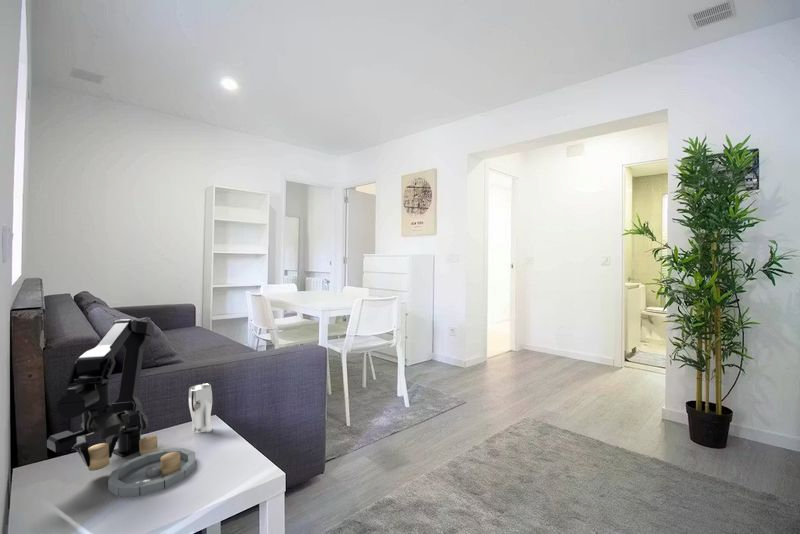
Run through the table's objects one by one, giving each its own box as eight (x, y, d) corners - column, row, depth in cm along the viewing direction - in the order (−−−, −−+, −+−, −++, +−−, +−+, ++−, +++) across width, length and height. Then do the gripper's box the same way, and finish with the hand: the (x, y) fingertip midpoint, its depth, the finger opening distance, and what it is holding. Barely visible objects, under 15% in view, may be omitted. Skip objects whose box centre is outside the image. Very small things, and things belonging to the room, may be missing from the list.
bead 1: (85, 467, 99) (84, 448, 99) (104, 460, 103) (104, 441, 103) (92, 472, 97) (91, 452, 97) (112, 464, 101) (111, 445, 101)
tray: (95, 486, 97) (94, 475, 97) (171, 452, 114) (171, 442, 114) (133, 509, 88) (133, 496, 88) (210, 468, 104) (210, 458, 104)
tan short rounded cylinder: (157, 477, 99) (157, 458, 99) (175, 468, 103) (174, 450, 103) (167, 481, 97) (166, 462, 97) (184, 473, 101) (183, 454, 100)
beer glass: (191, 429, 129) (189, 385, 129) (214, 425, 132) (212, 382, 132) (188, 438, 123) (187, 391, 123) (212, 433, 126) (211, 388, 125)
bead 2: (136, 457, 112) (136, 440, 112) (152, 450, 115) (152, 434, 115) (144, 461, 109) (144, 443, 109) (160, 454, 113) (160, 437, 113)
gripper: (63, 422, 88) (67, 489, 88) (150, 395, 104) (153, 452, 104) (44, 413, 93) (47, 476, 93) (130, 389, 109) (132, 443, 110)
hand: (98, 461), depth 100 cm, fingers closed on bead 1, 4 cm apart
